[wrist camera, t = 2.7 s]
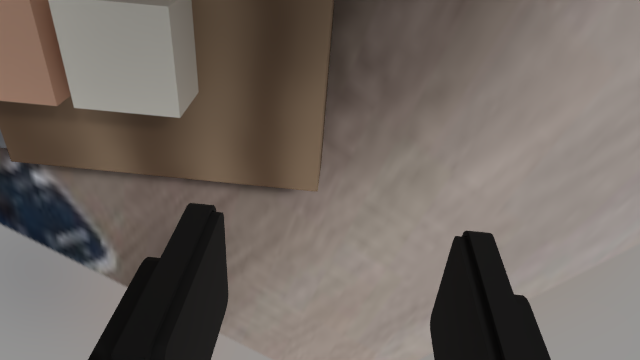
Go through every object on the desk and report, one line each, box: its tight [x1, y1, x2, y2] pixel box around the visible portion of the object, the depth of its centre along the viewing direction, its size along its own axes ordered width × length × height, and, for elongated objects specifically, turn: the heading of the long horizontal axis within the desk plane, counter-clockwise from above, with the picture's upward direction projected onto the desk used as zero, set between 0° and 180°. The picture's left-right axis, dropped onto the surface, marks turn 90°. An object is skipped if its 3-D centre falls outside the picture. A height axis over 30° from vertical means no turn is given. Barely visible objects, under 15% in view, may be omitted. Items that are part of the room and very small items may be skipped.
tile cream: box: [48, 0, 199, 118], centre depth 22 cm, size 5×5×3 cm
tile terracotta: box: [0, 0, 71, 106], centre depth 22 cm, size 5×5×3 cm
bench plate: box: [0, 0, 334, 191], centre depth 24 cm, size 18×16×3 cm
